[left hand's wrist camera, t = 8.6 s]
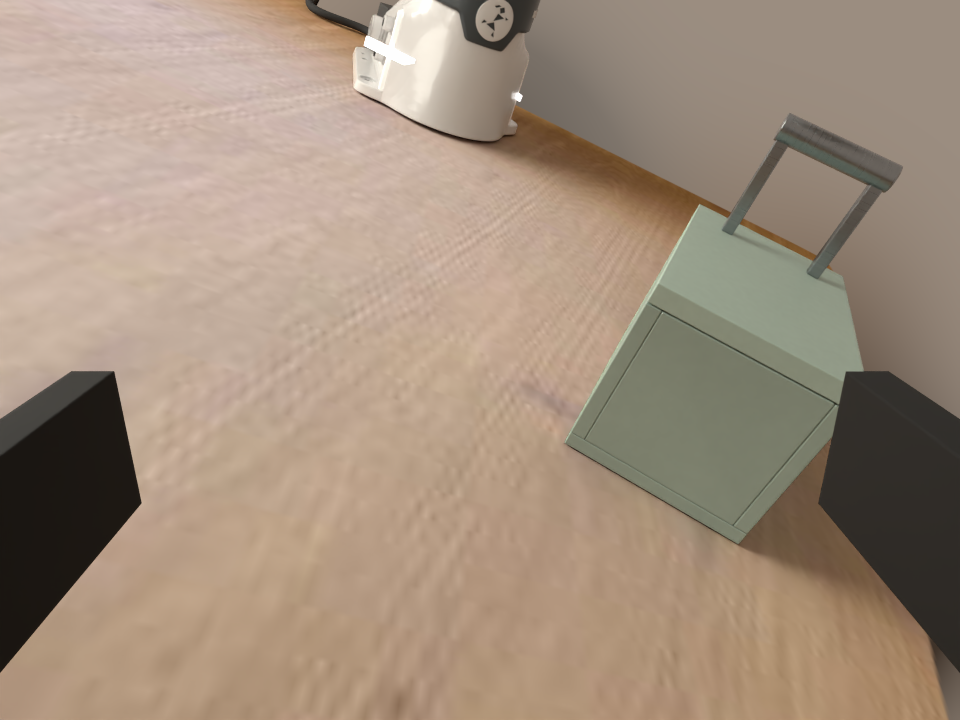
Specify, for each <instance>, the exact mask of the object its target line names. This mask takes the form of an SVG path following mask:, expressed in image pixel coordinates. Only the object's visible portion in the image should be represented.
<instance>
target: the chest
mask: <svg viewBox="0 0 960 720" xmlns="http://www.w3.org/2000/svg"><path fill="white" fill-rule="evenodd" d="M684 231H685V230H684ZM683 233H684V232H683ZM682 235H683V234H682ZM682 235H681V237H682ZM681 237H680V239H681ZM680 239H679V240H680ZM678 242H679V241H678ZM678 242H677V244H678ZM677 244H676V246H677ZM676 246H675V247H674V249H673V251H672V253H671V254H670V256H669V258H668V259H667V261H666V263H665V265H664V266H663V268H662V270H661V271H660V273H659V275H658V277H657V278H656V280H655V282H654V283H653V285H652V287H651V289H650V290H649V292H648V294H647V295H646V297H645V299H644V301H643V302H642V304H641V306H640V307H639V309H638V311H637V313H636V314H635V316H634V318H633V320H632V321H631V323H630V325H629V326H628V328H627V330H626V332H625V333H624V335H623V337H622V339H621V341H620V342H619V344H618V346H617V348H616V350H615V351H614V353H613V355H612V357H611V359H610V360H609V362H608V364H607V366H606V368H605V370H604V371H603V373H602V375H601V377H600V379H599V380H598V382H597V384H596V386H595V388H594V389H593V391H592V393H591V395H590V397H589V399H588V400H587V402H586V404H585V406H584V408H583V409H582V411H581V413H580V415H579V417H578V418H577V420H576V422H575V424H574V426H573V428H572V429H571V431H570V433H569V435H568V437H567V438H566V440H565V443H566V444H567V445H569V446H571V447H573V448H574V449H576V450H578V451H579V452H581V453H583V454H585V455H586V456H588V457H590V458H591V459H593V460H595V461H596V462H598V463H600V464H602V465H603V466H605V467H607V468H608V469H610V470H612V471H614V472H615V473H617V474H619V475H620V476H622V477H624V478H626V479H627V480H629V481H631V482H632V483H634V484H636V485H638V486H639V487H641V488H643V489H644V490H646V491H648V492H650V493H651V494H653V495H655V496H656V497H658V498H660V499H662V500H663V501H665V502H667V503H668V504H670V505H672V506H673V507H675V508H677V509H679V510H680V511H682V512H684V513H685V514H687V515H689V516H691V517H692V518H694V519H696V520H697V521H699V522H701V523H703V524H704V525H706V526H708V527H709V528H711V529H713V530H715V531H716V532H718V533H720V534H721V535H723V536H725V537H727V538H728V539H730V540H732V541H733V542H735V543H737V544H739V543H740V542H741V541H742V540H743V539H744V537H745V536H746V535H747V533H749V532H750V530H751V529H752V528H753V527H754V526H755V525H756V524H757V522H758V521H759V520H760V519H761V518H762V517H763V516H764V514H765V513H766V512H767V511H768V510H769V509H770V508H771V506H772V505H773V504H774V503H775V502H776V501H777V500H778V498H779V497H780V496H781V495H782V494H783V493H784V492H785V490H786V489H787V488H788V487H789V486H790V485H791V484H792V482H793V481H794V480H795V479H796V478H797V477H798V476H799V474H800V473H801V472H802V471H803V470H804V469H805V468H806V466H807V465H808V464H809V463H810V462H811V461H812V459H813V458H814V457H815V456H816V455H817V454H818V453H819V451H820V450H821V449H822V448H823V447H824V446H825V445H826V443H827V442H828V441H829V440H830V439H831V438H832V436H833V431H834V426H835V421H836V416H837V412H838V407H839V404H837V403H835V402H833V401H831V400H830V399H828V398H826V397H824V396H822V395H820V394H818V393H817V392H815V391H813V390H811V389H809V388H807V387H805V386H804V385H802V384H800V383H798V382H796V381H794V380H792V379H790V378H789V377H787V376H785V375H783V374H781V373H779V372H777V371H776V370H774V369H772V368H770V367H768V366H766V365H764V364H763V363H761V362H759V361H757V360H755V359H753V358H751V357H749V356H748V355H746V354H744V353H742V352H740V351H738V350H736V349H735V348H733V347H731V346H729V345H727V344H725V343H723V342H722V341H720V340H718V339H716V338H714V337H712V336H710V335H708V334H707V333H705V332H703V331H701V330H699V329H697V328H695V327H694V326H692V325H690V324H688V323H686V322H684V321H682V320H681V319H679V318H677V317H675V316H673V315H671V314H669V313H667V312H666V311H664V310H662V309H660V308H658V307H656V306H654V305H653V304H651V303H649V302H648V299H649V297H650V295H651V293H652V291H653V289H654V287H655V285H656V284H657V282H658V280H659V278H660V276H661V274H662V272H663V270H664V269H665V267H666V265H667V263H668V261H669V259H670V257H671V255H672V254H673V252H674V250H675V248H676Z"/></svg>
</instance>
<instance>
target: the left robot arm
mask: <svg viewBox="0 0 960 720" xmlns="http://www.w3.org/2000/svg"><path fill="white" fill-rule="evenodd" d="M140 505H141V498H140V493H139V488H138V484H137V479H136V474H135V469H134V464H133V460H132V455H131V450H130V445H129V440H128V436H127V431H126V426H125V421H124V416H123V411H122V407H121V402H120V397H119V392H118V387H117V383H116V378H115V373H114V371H71V372H70V373H68V374H67V375H65V376H64V377H62V378H61V379H59V380H58V381H56V382H55V383H53V384H52V385H50V386H49V387H47V388H46V389H44V390H43V391H41V392H40V393H38V394H37V395H36V396H34V397H33V398H31V399H30V400H28V401H27V402H25V403H24V404H22V405H21V406H19V407H18V408H16V409H15V410H13V411H12V412H10V413H9V414H7V415H6V416H4V417H3V418H1V419H0V672H1V671H2V670H3V669H4V668H5V666H6V665H7V664H8V663H9V662H10V660H11V659H12V658H13V657H14V656H15V654H16V653H17V652H18V651H19V650H20V648H21V647H22V646H23V645H24V644H25V642H26V641H27V640H28V639H29V638H30V636H31V635H32V634H33V633H34V632H35V630H36V629H37V628H38V627H39V626H40V624H41V623H42V622H43V621H44V620H45V618H46V617H47V616H48V615H49V614H50V612H51V611H52V610H53V609H54V608H55V606H56V605H57V604H58V603H59V602H60V600H61V599H62V598H63V597H64V596H65V594H66V593H67V592H68V591H69V590H70V588H71V587H72V586H73V585H74V584H75V582H76V581H77V580H78V579H79V578H80V576H81V575H82V574H83V573H84V572H85V570H86V569H87V568H88V567H89V566H90V564H91V563H92V562H93V561H94V560H95V558H96V557H97V556H98V555H99V554H100V552H101V551H102V550H103V549H104V548H105V546H106V545H107V544H108V543H109V542H110V540H111V539H112V538H113V537H114V536H115V534H116V533H117V532H118V531H119V530H120V528H121V527H122V526H123V525H124V524H125V522H126V521H127V520H128V519H129V518H130V516H131V515H132V514H133V513H134V512H135V511H136V509H137V508H138V507H139V506H140ZM819 505H820V506H821V507H822V508H823V509H824V511H825V512H826V513H827V514H828V515H829V516H830V518H831V519H832V520H833V521H834V522H835V524H836V525H837V526H838V527H839V528H840V530H841V531H842V532H843V533H844V534H845V536H846V537H847V538H848V539H849V540H850V542H851V543H852V544H853V545H854V546H855V548H856V549H857V550H858V551H859V552H860V554H861V555H862V556H863V557H864V558H865V560H866V561H867V562H868V563H869V564H870V566H871V567H872V568H873V569H874V570H875V572H876V573H877V574H878V575H879V576H880V578H881V579H882V580H883V581H884V582H885V584H886V585H887V586H888V587H889V588H890V590H891V591H892V592H893V593H894V594H895V596H896V597H897V598H898V599H899V600H900V602H901V603H902V604H903V605H904V606H905V608H906V609H907V610H908V611H909V612H910V614H911V615H912V616H913V617H914V618H915V620H916V621H917V622H918V623H919V624H920V626H921V627H922V628H923V629H924V630H925V632H926V633H927V634H928V635H929V636H930V638H931V639H932V640H933V641H934V642H935V644H936V645H937V646H938V647H939V648H940V650H941V651H942V652H943V653H944V654H945V656H946V657H947V658H948V659H949V660H950V662H951V663H952V664H953V665H954V666H955V667H956V669H957V670H958V671H959V672H960V419H959V418H957V417H956V416H954V415H953V414H951V413H950V412H948V411H947V410H945V409H944V408H942V407H941V406H939V405H938V404H936V403H935V402H933V401H932V400H930V399H929V398H927V397H926V396H924V395H923V394H921V393H920V392H918V391H917V390H916V389H914V388H913V387H911V386H910V385H908V384H907V383H905V382H904V381H902V380H901V379H899V378H898V377H896V376H895V375H893V374H892V373H890V372H889V371H846V373H845V378H844V383H843V387H842V392H841V397H840V402H839V407H838V412H837V416H836V421H835V426H834V431H833V436H832V440H831V445H830V450H829V455H828V460H827V464H826V469H825V474H824V479H823V484H822V488H821V493H820V498H819Z"/></svg>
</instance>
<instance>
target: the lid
mask: <svg viewBox="0 0 960 720" xmlns="http://www.w3.org/2000/svg"><path fill="white" fill-rule="evenodd" d="M774 140H775V142H774V144H773V145H772V147H771V148H770V150H769V152H768V153H767V155H766V157H765V158H764V160H763V162H762V163H761V165H760V166H759V168H758V170H757V171H756V173H755V175H754V176H753V178H752V180H751V181H750V183H749V184H748V186H747V188H746V189H745V191H744V192H743V194H742V196H741V197H740V199H739V201H738V202H737V204H736V205H735V207H734V209H733V210H732V212H731V214H730V215H729V217H728V218H726V217H724V216H722V215H720V214H718V213H716V212H714V211H712V210H710V209H708V208H707V207H705V206H703V205H701V204H700V205H699V206H698V208H697V209H696V211H695V213H694V214H693V216H692V218H691V220H690V222H689V224H688V225H687V227H686V229H685V231H684V233H683V235H682V237H681V239H680V240H679V242H678V244H677V246H676V248H675V250H674V252H673V254H672V255H671V257H670V259H669V261H668V263H667V265H666V267H665V269H664V270H663V272H662V274H661V276H660V278H659V280H658V282H657V284H656V285H655V287H654V289H653V291H652V293H651V295H650V297H649V299H648V302H649V303H651V304H653V305H654V306H656V307H658V308H660V309H662V310H664V311H666V312H667V313H669V314H671V315H673V316H675V317H677V318H679V319H681V320H682V321H684V322H686V323H688V324H690V325H692V326H694V327H695V328H697V329H699V330H701V331H703V332H705V333H707V334H708V335H710V336H712V337H714V338H716V339H718V340H720V341H722V342H723V343H725V344H727V345H729V346H731V347H733V348H735V349H736V350H738V351H740V352H742V353H744V354H746V355H748V356H749V357H751V358H753V359H755V360H757V361H759V362H761V363H763V364H764V365H766V366H768V367H770V368H772V369H774V370H776V371H777V372H779V373H781V374H783V375H785V376H787V377H789V378H790V379H792V380H794V381H796V382H798V383H800V384H802V385H804V386H805V387H807V388H809V389H811V390H813V391H815V392H817V393H818V394H820V395H822V396H824V397H826V398H828V399H830V400H831V401H833V402H835V403H837V404H839V402H840V397H841V392H842V387H843V383H844V378H845V373H846V371H864V369H863V365H862V360H861V356H860V351H859V347H858V342H857V338H856V333H855V329H854V324H853V320H852V315H851V311H850V306H849V302H848V297H847V292H846V288H845V283H844V279H843V276H841V275H839V274H837V273H835V272H833V271H831V270H829V269H827V266H828V265H829V264H830V262H831V261H832V259H833V258H834V257H835V255H836V254H837V253H838V251H839V250H840V248H841V247H842V246H843V244H844V243H845V242H846V240H847V239H848V238H849V236H850V235H851V234H852V232H853V231H854V229H855V228H856V227H857V225H858V224H859V223H860V221H861V220H862V218H863V217H864V216H865V214H866V213H867V212H868V210H869V209H870V208H871V206H872V205H873V204H874V202H875V201H876V199H877V198H878V197H879V195H880V194H881V193H882V192H886V191H888V190H889V189H890V188H891V186H892V185H893V184H894V183H895V181H896V180H897V178H898V177H899V175H900V173H901V171H902V169H903V167H902V166H901V165H899V164H897V163H895V162H893V161H891V160H889V159H887V158H884V157H882V156H880V155H878V154H876V153H874V152H872V151H870V150H868V149H865V148H863V147H861V146H859V145H857V144H855V143H853V142H851V141H848V140H846V139H844V138H842V137H840V136H838V135H836V134H834V133H831V132H829V131H827V130H825V129H823V128H821V127H819V126H817V125H815V124H812V123H810V122H808V121H806V120H804V119H802V118H800V117H798V116H796V115H793V114H791V113H789V114H788V115H787V117H786V118H785V120H784V121H783V123H782V124H781V126H780V128H779V129H778V131H777V133H776V135H775V137H774ZM787 147H789V148H791V149H794V150H796V151H798V152H800V153H802V154H804V155H806V156H808V157H810V158H812V159H814V160H816V161H819V162H821V163H823V164H825V165H827V166H829V167H831V168H833V169H835V170H837V171H839V172H841V173H843V174H846V175H848V176H850V177H852V178H854V179H856V180H858V181H860V182H862V183H864V184H866V185H867V186H866V188H865V189H864V191H863V192H862V193H861V195H860V196H859V198H858V199H857V200H856V202H855V203H854V205H853V206H852V207H851V209H850V210H849V212H848V213H847V214H846V216H845V217H844V218H843V220H842V221H841V223H840V224H839V225H838V227H837V228H836V230H835V231H834V232H833V234H832V235H831V237H830V238H829V240H828V241H827V242H826V244H825V245H824V246H823V248H822V249H821V251H820V252H819V254H818V255H817V256H816V258H815V259H814V260H813V261H811V260H809V259H807V258H805V257H803V256H801V255H799V254H798V253H796V252H794V251H792V250H790V249H788V248H786V247H784V246H782V245H780V244H778V243H776V242H774V241H772V240H770V239H768V238H766V237H764V236H762V235H760V234H758V233H756V232H754V231H752V230H750V229H748V228H746V227H744V226H742V225H740V222H741V221H742V219H743V217H744V216H745V214H746V213H747V211H748V210H749V208H750V206H751V205H752V203H753V202H754V200H755V198H756V197H757V195H758V194H759V192H760V190H761V189H762V187H763V186H764V184H765V182H766V181H767V179H768V178H769V176H770V174H771V173H772V171H773V170H774V168H775V166H776V165H777V163H778V162H779V160H780V158H781V157H782V155H783V154H784V152H785V151H786V149H787Z"/></svg>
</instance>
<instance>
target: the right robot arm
mask: <svg viewBox="0 0 960 720" xmlns="http://www.w3.org/2000/svg"><path fill="white" fill-rule="evenodd" d="M318 2H319V0H306V5H307V7H308V9H309V10H310V11H312V12H313V13H315V14H317V15H319V16H321V17H323V18H325V19H328V20H331V21H333V22H336V23H339V24H341V25H344V26H347V27H350V28H352V29H355V30H358V31H360V32H362V33H364V34H366V35H368V36H366V40H365V43H364V46H365V47H366V48H364V47H356V48H355V50H354V53H353V87H354V89H355V90H357V91H358V92H360V93H362V94H364V95H366V96H368V97H371V98H373V99H375V100H378V101H380V102H382V103H384V104H386V105H387V106H389V107H391V108H392V109H394V110H396V111H397V112H399V113H401V114H403V115H405V116H407V117H409V118H411V119H413V120H415V121H417V122H419V123H421V124H424V125H426V126H429V127H431V128H434V129H437V130H439V131H442V132H445V133H448V134H452V135H455V136H459V137H463V138H467V139H472V140H479V141H496V140H499V139H500V138H501V137H502V136H503V135H513V134H515V133H516V130H517V126H518V125H517V123H515V122H514V121H513V120H512V119H511V117H512V114H513V111H514V107H515V104H516V101H520V100H521V98H522V95H520V94H519V91H520V88H521V85H522V81H523V78H524V75H525V72H526V68H527V65H528V61H529V54H528V52H527V49H526V47H525V43H524V33H527V32H529V30H530V28H531V25H532V23H533V20H534V18H535V17H536V15H537V12H538V5H539V3H540V0H400V1H399V2H398V3H396V4H395V5H394V6H391V5H388V4H384V3H380V6H379V10H378V13H377V15H373V16H372V18H371V21H370V25H369V28H368V27H366V26H364V25H362V24H360V23H357V22H355V21H352V20H349V19H347V18H344V17H341V16H338V15H336V14H333V13H330V12H328V11H326V10H323V9H321V8H319V7H317V4H318Z"/></svg>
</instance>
